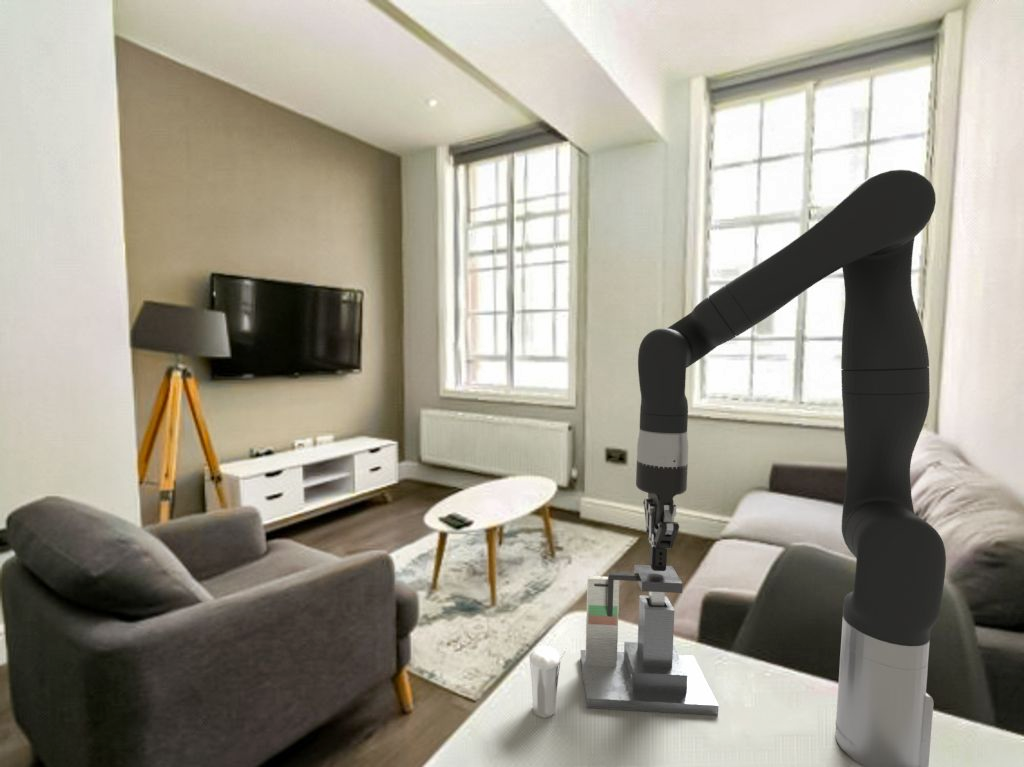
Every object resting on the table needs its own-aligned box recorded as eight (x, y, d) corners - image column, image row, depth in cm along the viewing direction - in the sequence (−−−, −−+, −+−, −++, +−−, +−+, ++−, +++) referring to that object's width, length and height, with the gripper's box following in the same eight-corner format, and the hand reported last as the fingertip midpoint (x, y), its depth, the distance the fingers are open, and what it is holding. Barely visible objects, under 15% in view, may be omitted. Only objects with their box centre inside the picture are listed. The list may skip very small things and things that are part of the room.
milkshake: (561, 726, 71) (562, 657, 70) (524, 716, 72) (526, 650, 72) (567, 704, 75) (569, 640, 74) (533, 696, 77) (534, 633, 76)
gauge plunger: (669, 634, 82) (671, 566, 81) (679, 657, 76) (682, 583, 75) (604, 631, 83) (606, 563, 82) (609, 653, 77) (611, 580, 76)
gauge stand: (693, 664, 85) (697, 572, 84) (718, 715, 73) (723, 609, 72) (580, 658, 86) (583, 567, 85) (587, 708, 74) (590, 603, 73)
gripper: (700, 470, 71) (695, 590, 72) (675, 451, 84) (671, 552, 85) (646, 468, 71) (642, 587, 72) (629, 450, 84) (626, 551, 85)
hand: (657, 568), depth 78 cm, fingers closed
